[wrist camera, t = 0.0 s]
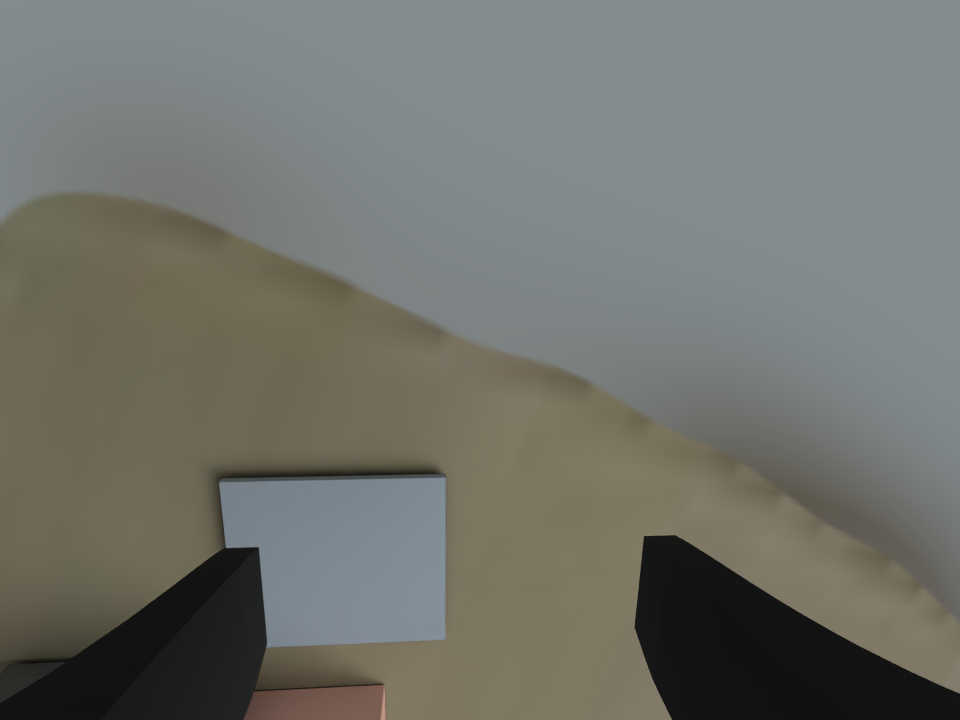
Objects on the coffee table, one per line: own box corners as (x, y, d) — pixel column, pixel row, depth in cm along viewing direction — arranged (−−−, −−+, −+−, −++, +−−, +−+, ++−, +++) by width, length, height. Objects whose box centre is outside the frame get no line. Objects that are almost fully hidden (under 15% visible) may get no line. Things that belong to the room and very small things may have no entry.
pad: (445, 634, 22) (445, 639, 22) (239, 643, 22) (237, 648, 21) (445, 474, 20) (445, 477, 20) (222, 478, 20) (219, 482, 20)
